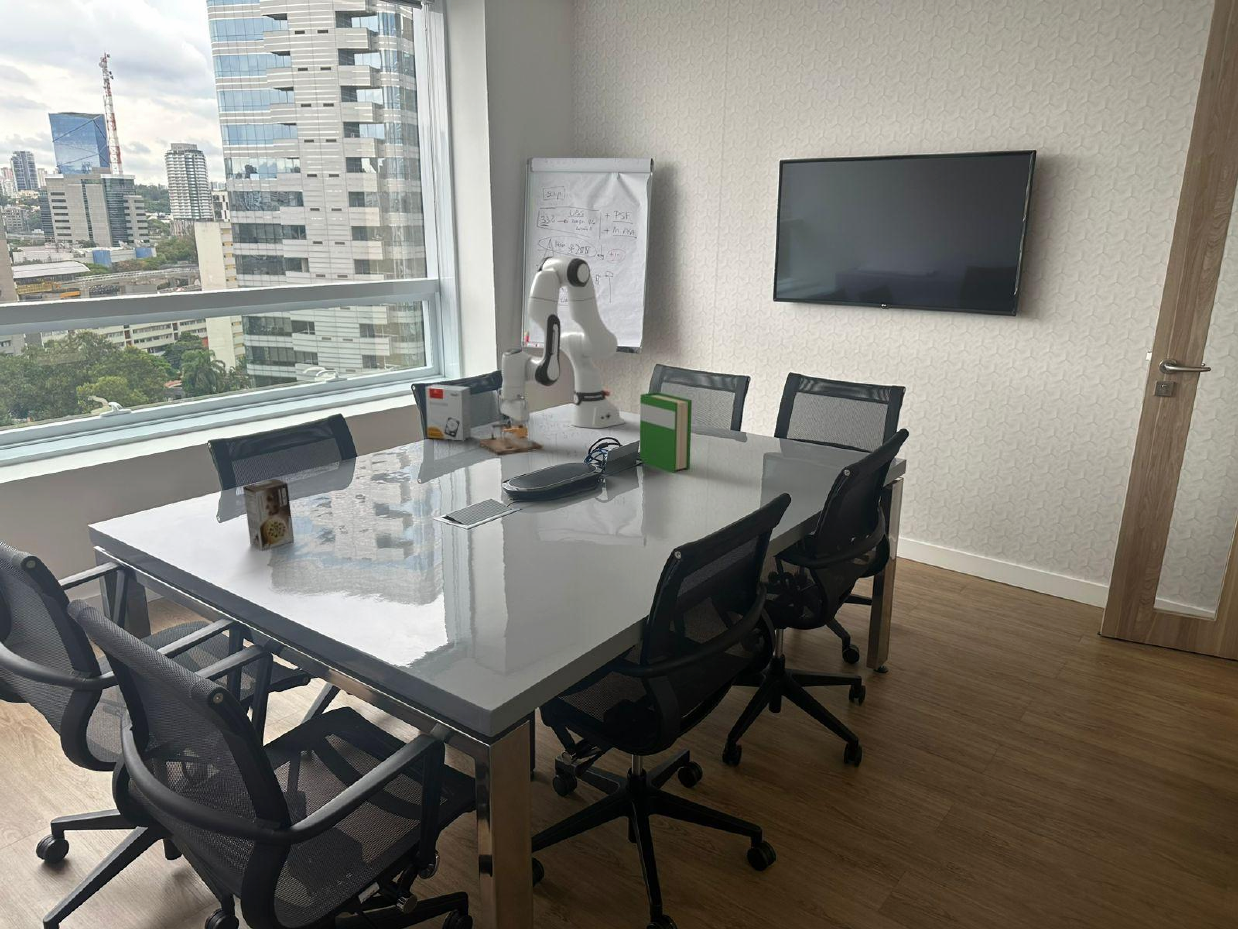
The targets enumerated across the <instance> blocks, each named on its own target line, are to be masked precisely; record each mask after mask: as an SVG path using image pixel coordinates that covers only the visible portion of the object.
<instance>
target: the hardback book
mask: <svg viewBox="0 0 1238 929" xmlns="http://www.w3.org/2000/svg"><path fill="white" fill-rule="evenodd" d="M639 400H640V408H639V410H640V412H639V413H640V417H639V419H640V421H639V423H640V425H639V460H640V459H641V460H642V462H644V463H643V464H645V465H649V466H651V467H653V468H658V469H660V470H663V471H665V472H669V473H673V474H676V473H677V470H682V469H684V470H690V469H691V445H692V444H691V443H692V442H691V440H692V436H691V435H692V434H691V433H692V409H693V406H692V402H693V400H692V399H689V398H684V397H680V396H676V395H671V394H666V393H663V392H658V391H655V392H649V393H642V394H640V399H639ZM642 462H641V463H642Z"/></svg>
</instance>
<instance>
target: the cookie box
mask: <svg viewBox="0 0 1238 929" xmlns="http://www.w3.org/2000/svg"><path fill="white" fill-rule="evenodd" d="M243 494H244V495H243V496H244V505H245V511H246V512H245V513H246V518H247V526H248V534H249V543H250V544H249V545H250V546H251V545H252V547H254V548H255V549H258V550H260V551H262V552H263V551H267V550H269V549H272V548H275V547H278V546H282V545H284V544H288V543H291V542H294V541H295V538H294V537H295V536H294V530H293V529H294V527H293V519H292V512H291V503H290V496H289V486H288V483H287V482H284V481H282V480H280V479H277V478H272V479H268V480H263V481H260V482H257V483H253V484H248V485H244V486H243Z"/></svg>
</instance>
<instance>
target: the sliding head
mask: <svg viewBox="0 0 1238 929" xmlns="http://www.w3.org/2000/svg"><path fill="white" fill-rule="evenodd" d="M528 431H529V430H528V427H526V426H524V425H523V424H519V425H518V427H514V428H511V429H502V433H501V434H502V435H501V437H502V443H505V438H504V436H505V434H506V433H507V432H514V435H515V436H516V437H523V436H525V437H528V436H529V434H528Z"/></svg>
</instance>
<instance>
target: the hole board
mask: <svg viewBox="0 0 1238 929" xmlns="http://www.w3.org/2000/svg"><path fill="white" fill-rule="evenodd" d="M504 438H505V443H502V436H498V437H497V436H496V437H494V438H493V439H492V437H488V438H480V439H475V441H476V444H477V443H479V444H480V445H479V444H478V445H479V446H481V445H483V446H484V447H485V448H484V447H483V446H482V447H483V448H484V449H486V448H487V449H486V450H488V449H489V450H490V451H489V450H488V451H489V452H491V451H492V452H491V453H493V452H494V453H495V454H494V453H493V454H494V455H496V454H497V455H496V456H500V455H499V454H501V455H506V454H505V453H508V454H512V453H511V452H515V453H522V451H523V452H527V451H528V450H530V451H534V450H533V449H537V450H543V445H542V444H540V443H538V442H536V441H534V440H532V447H525V446H523V445H521V444H519V443H517V442H515V441H513V440H512V439H510V438H508V437H506V435H504Z"/></svg>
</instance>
